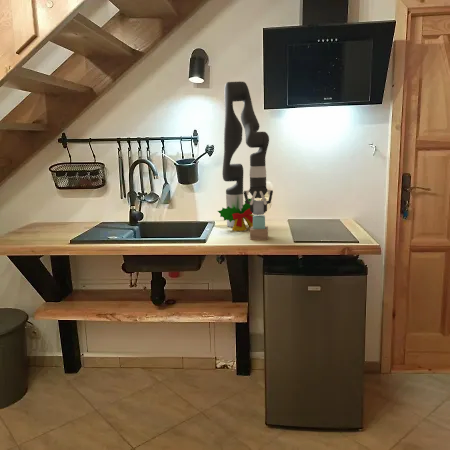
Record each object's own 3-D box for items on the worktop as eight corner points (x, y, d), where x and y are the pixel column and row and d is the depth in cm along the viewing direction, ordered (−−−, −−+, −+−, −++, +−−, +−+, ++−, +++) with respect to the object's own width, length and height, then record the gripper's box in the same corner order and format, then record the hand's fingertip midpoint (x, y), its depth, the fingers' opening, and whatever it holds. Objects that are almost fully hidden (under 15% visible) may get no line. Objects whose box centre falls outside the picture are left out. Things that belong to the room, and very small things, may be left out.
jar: (253, 213, 210) (253, 200, 209) (264, 212, 210) (264, 200, 208) (252, 214, 205) (252, 202, 204) (264, 214, 205) (263, 201, 203)
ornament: (228, 240, 228) (219, 216, 221) (225, 232, 235) (216, 209, 228) (266, 226, 229) (258, 201, 221) (261, 219, 236) (254, 194, 229)
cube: (253, 226, 212) (252, 215, 211) (264, 226, 212) (264, 215, 211) (253, 229, 206) (253, 217, 205) (265, 228, 206) (265, 217, 205)
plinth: (251, 236, 214) (250, 226, 213) (267, 236, 213) (267, 226, 212) (250, 240, 206) (250, 229, 205) (267, 240, 205) (267, 229, 204)
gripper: (273, 175, 207) (274, 211, 210) (243, 175, 209) (243, 211, 212) (273, 176, 200) (274, 213, 203) (241, 177, 201) (242, 214, 205)
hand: (258, 212), depth 207 cm, fingers closed on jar, 5 cm apart
